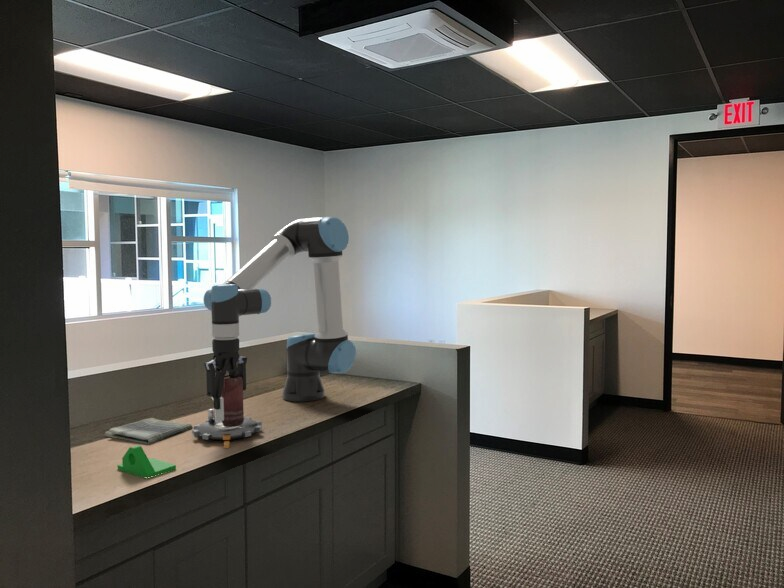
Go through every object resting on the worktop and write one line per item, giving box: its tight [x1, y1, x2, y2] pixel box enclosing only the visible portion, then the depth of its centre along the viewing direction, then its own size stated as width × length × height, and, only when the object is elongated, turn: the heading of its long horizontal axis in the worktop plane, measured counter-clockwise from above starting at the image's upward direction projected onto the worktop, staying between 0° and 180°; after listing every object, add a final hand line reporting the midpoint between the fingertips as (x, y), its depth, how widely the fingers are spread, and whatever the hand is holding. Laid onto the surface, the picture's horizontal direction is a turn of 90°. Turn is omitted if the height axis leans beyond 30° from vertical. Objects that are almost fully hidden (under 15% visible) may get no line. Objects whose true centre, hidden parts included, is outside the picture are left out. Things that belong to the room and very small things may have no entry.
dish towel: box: [104, 417, 194, 445], centre depth 182 cm, size 19×18×3 cm
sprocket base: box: [210, 436, 244, 442], centre depth 180 cm, size 12×12×1 cm
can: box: [221, 374, 245, 426], centre depth 180 cm, size 6×6×14 cm
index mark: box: [223, 440, 230, 449], centre depth 168 cm, size 3×1×1 cm, turn 13°
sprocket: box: [191, 408, 263, 441], centre depth 179 cm, size 19×20×5 cm
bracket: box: [117, 444, 177, 478], centre depth 151 cm, size 12×8×7 cm, turn 56°
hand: (227, 417), depth 179 cm, fingers open, 5 cm apart
